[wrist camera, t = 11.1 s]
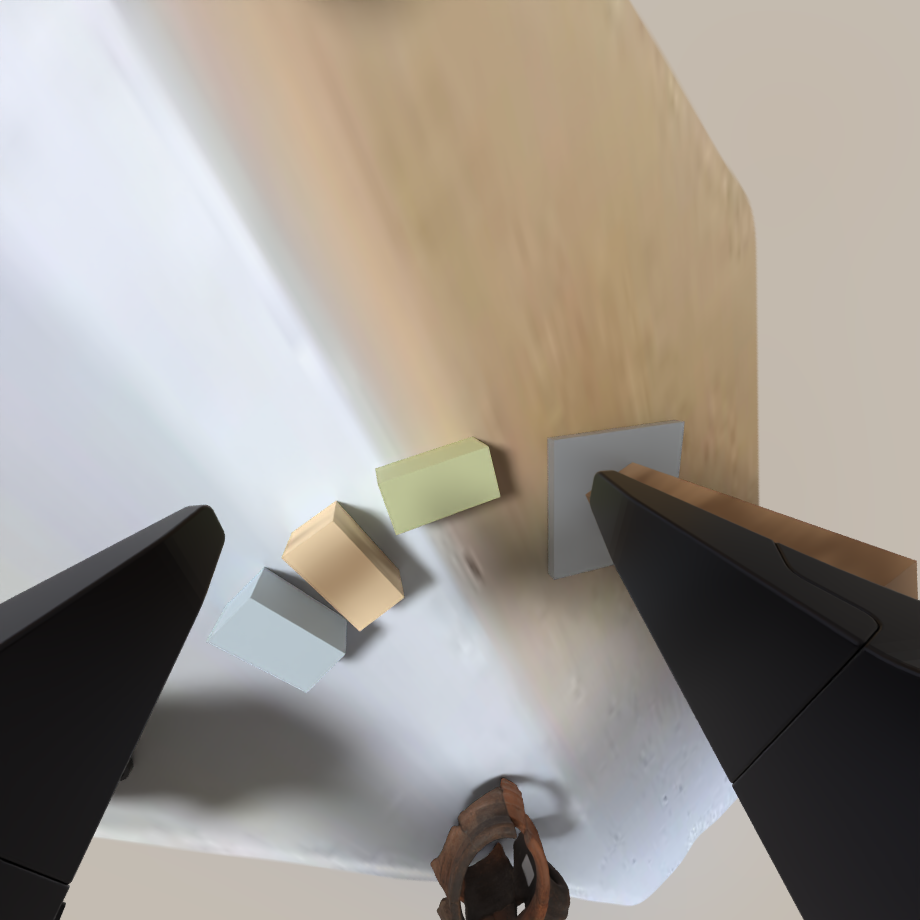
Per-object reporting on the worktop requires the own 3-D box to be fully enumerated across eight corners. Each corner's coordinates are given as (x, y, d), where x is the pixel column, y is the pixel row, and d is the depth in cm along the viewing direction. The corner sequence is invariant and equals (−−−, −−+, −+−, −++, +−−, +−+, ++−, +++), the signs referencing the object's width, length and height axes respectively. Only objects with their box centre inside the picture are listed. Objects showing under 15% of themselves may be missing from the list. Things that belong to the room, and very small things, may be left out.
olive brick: (391, 512, 21) (396, 535, 18) (375, 467, 20) (377, 483, 17) (482, 480, 22) (500, 496, 19) (471, 436, 21) (488, 446, 18)
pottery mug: (404, 864, 30) (415, 969, 22) (446, 736, 33) (469, 788, 25) (530, 907, 31) (582, 1021, 23) (559, 779, 34) (613, 841, 26)
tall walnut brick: (605, 538, 25) (840, 701, 13) (585, 494, 23) (828, 631, 11) (649, 506, 25) (918, 636, 13) (632, 462, 24) (916, 561, 12)
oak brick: (398, 568, 22) (404, 597, 19) (359, 597, 22) (359, 631, 19) (336, 499, 20) (332, 520, 17) (292, 531, 20) (281, 558, 17)
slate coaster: (662, 545, 28) (671, 550, 27) (548, 573, 25) (554, 579, 24) (674, 419, 25) (684, 421, 24) (547, 437, 22) (554, 440, 22)
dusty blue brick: (347, 617, 22) (345, 653, 19) (313, 651, 22) (306, 693, 19) (265, 565, 20) (250, 597, 17) (227, 602, 20) (206, 641, 17)
